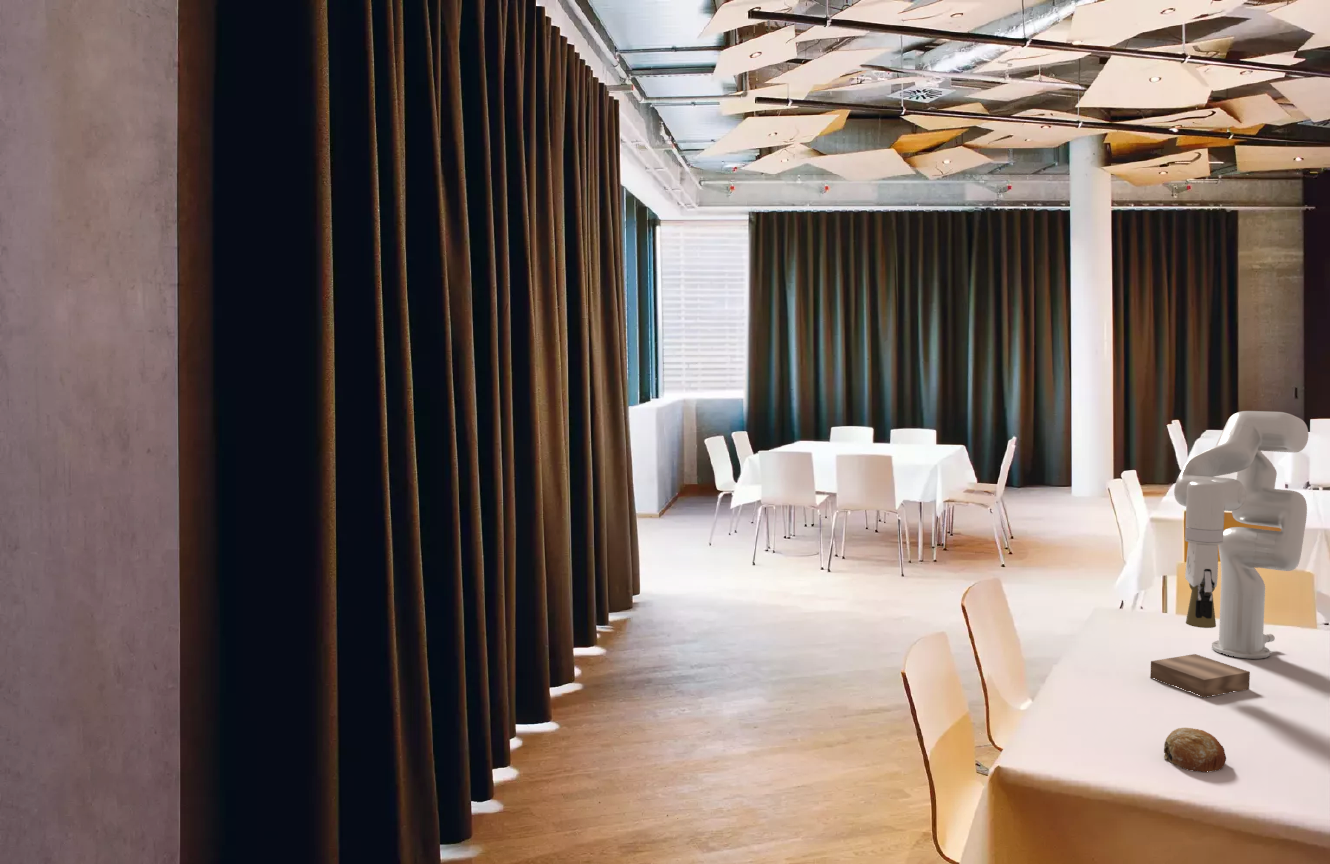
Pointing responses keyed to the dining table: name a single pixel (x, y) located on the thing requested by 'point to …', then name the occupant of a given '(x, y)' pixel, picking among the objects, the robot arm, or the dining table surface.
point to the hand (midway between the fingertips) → (1201, 614)
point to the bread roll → (1194, 750)
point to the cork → (1191, 617)
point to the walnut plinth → (1200, 675)
